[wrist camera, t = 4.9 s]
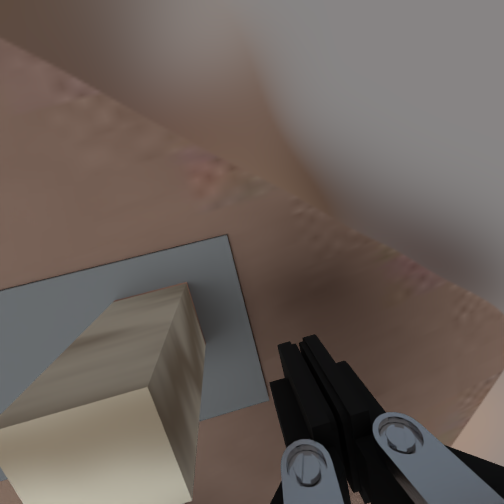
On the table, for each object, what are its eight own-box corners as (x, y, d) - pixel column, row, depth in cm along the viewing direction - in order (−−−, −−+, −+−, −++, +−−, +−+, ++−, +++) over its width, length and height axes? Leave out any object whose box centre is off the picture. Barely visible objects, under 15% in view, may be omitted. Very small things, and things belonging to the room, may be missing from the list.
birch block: (205, 343, 19) (192, 500, 9) (138, 362, 18) (49, 546, 9) (186, 281, 18) (147, 386, 8) (114, 300, 17) (-20, 434, 8)
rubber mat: (268, 396, 21) (269, 400, 21) (-8, 479, 19) (-13, 485, 19) (226, 234, 18) (226, 235, 17) (-111, 318, 16) (-120, 320, 16)
